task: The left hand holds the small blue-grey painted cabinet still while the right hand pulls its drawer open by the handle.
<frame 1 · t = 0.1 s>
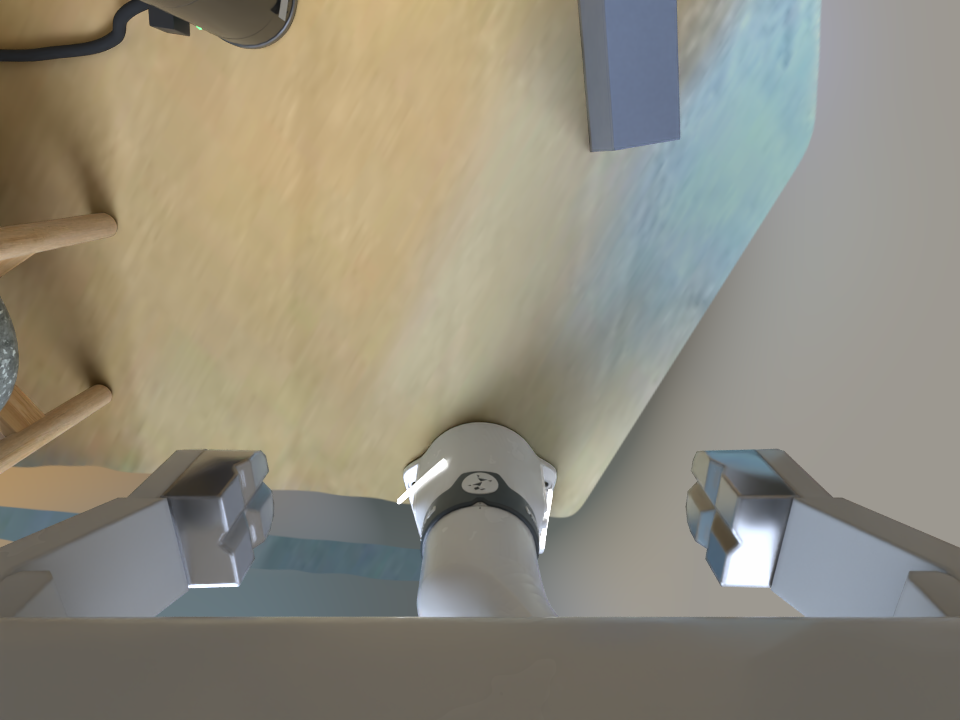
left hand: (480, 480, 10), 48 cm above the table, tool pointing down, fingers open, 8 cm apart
cabinet: (610, 48, 50), on the table
planter: (10, 290, 58), on the table
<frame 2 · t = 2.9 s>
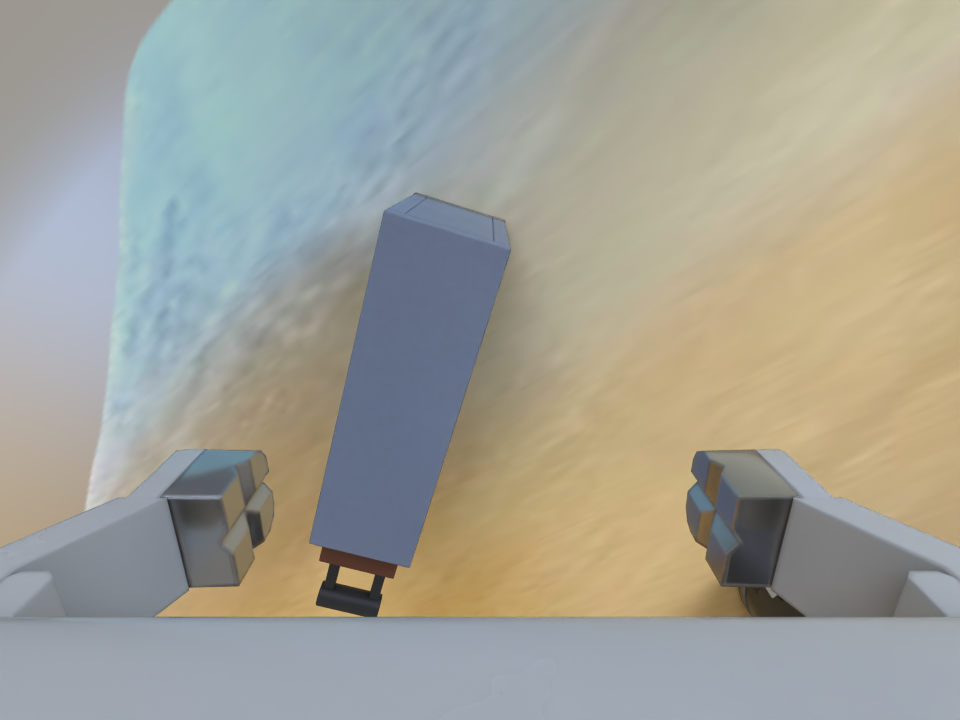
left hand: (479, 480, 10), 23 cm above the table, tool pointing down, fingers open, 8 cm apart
cabinet: (423, 341, 34), on the table
drawer: (391, 449, 31), point 5 cm above the table, slide at 0.6 cm
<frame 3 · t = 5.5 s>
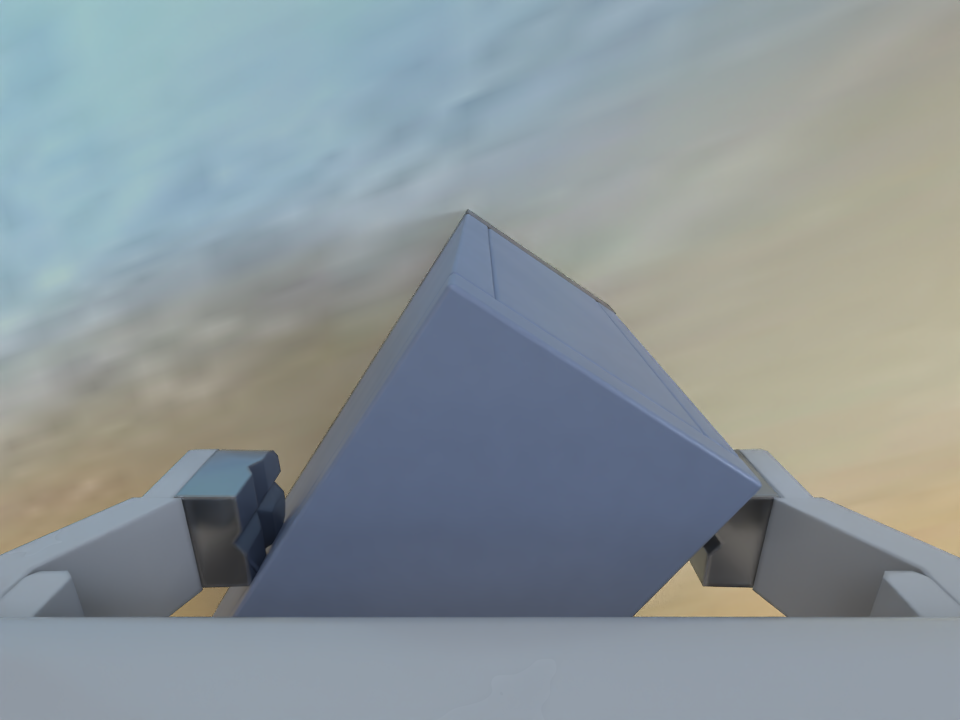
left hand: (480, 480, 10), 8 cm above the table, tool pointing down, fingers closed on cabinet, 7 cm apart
cabinet: (398, 461, 19), on the table, touching left hand
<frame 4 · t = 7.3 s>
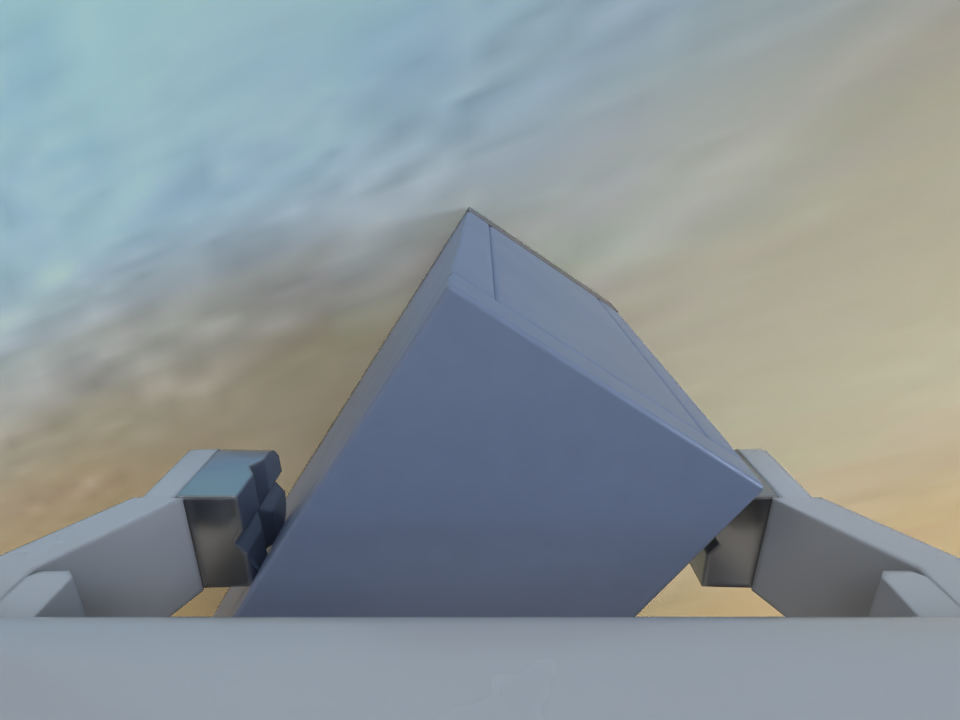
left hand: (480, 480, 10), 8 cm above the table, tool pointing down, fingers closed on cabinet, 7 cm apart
cabinet: (399, 459, 19), on the table, touching left hand
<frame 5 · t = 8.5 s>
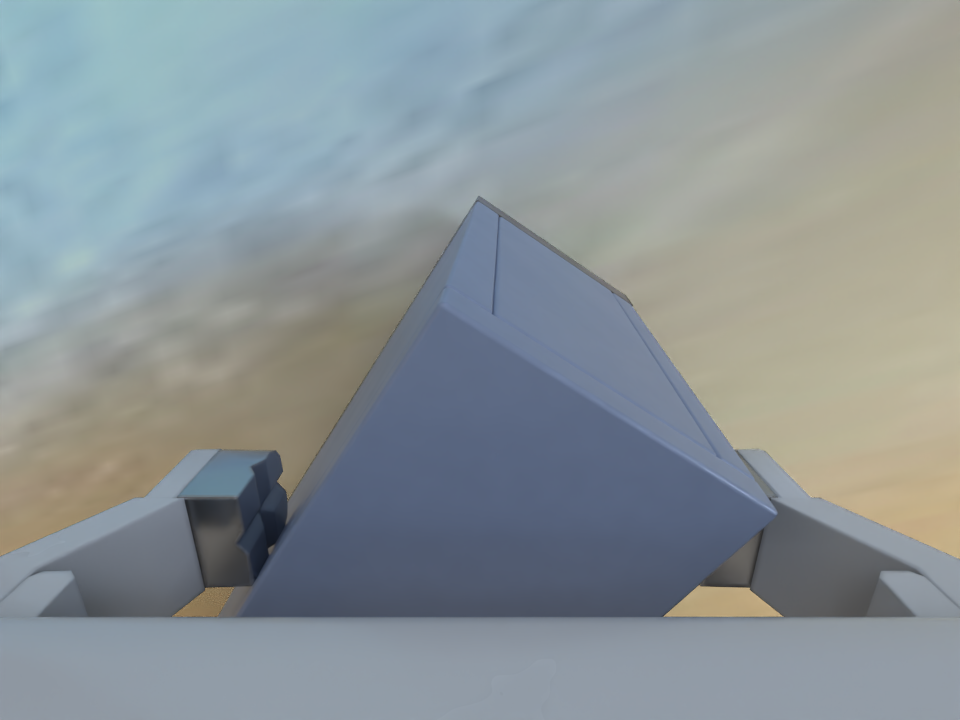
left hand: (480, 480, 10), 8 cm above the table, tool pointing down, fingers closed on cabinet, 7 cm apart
cabinet: (409, 451, 19), on the table, touching left hand
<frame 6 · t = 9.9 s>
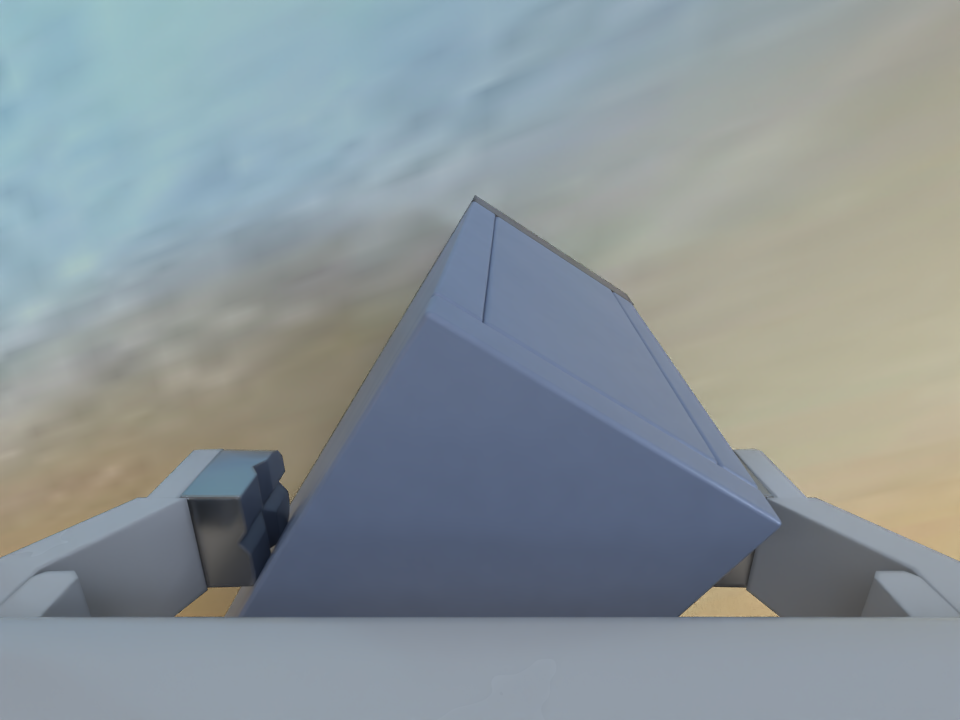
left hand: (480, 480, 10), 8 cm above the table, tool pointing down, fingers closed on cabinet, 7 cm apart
cabinet: (410, 454, 19), on the table, touching left hand
when the left hand's fingers open (8 cm above the table, at t = 11.0 s): cabinet stays where it is, on the table.
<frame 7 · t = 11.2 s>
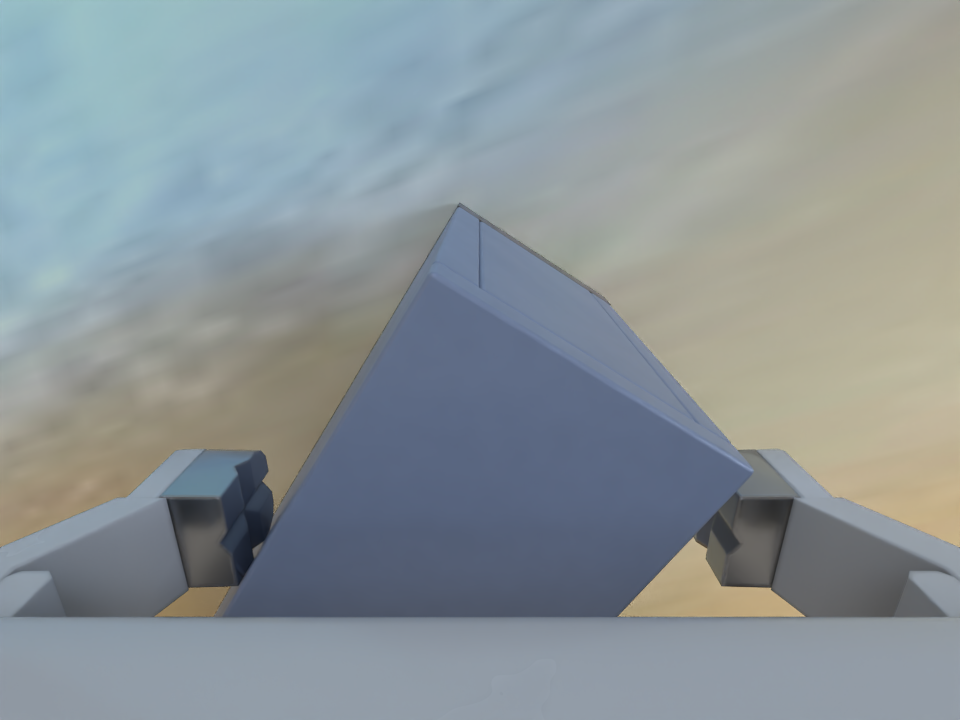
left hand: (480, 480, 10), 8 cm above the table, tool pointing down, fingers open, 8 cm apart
cabinet: (396, 458, 19), on the table, touching left hand
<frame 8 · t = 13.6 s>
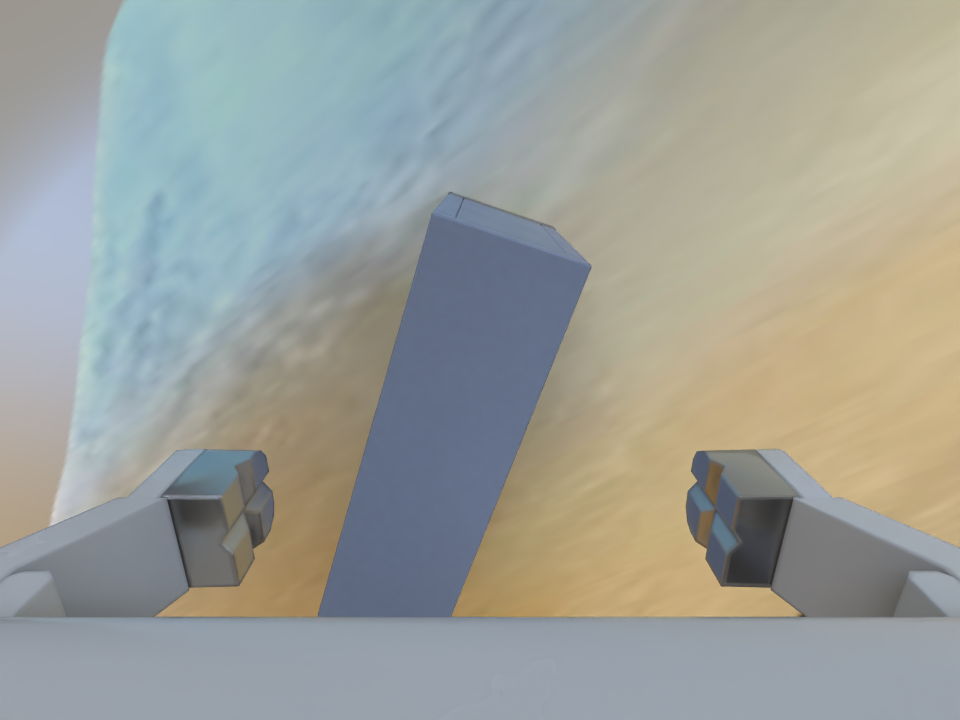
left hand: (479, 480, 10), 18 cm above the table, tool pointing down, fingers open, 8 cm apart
cabinet: (450, 365, 29), on the table
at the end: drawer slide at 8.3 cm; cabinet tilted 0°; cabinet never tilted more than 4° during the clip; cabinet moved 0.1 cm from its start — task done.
